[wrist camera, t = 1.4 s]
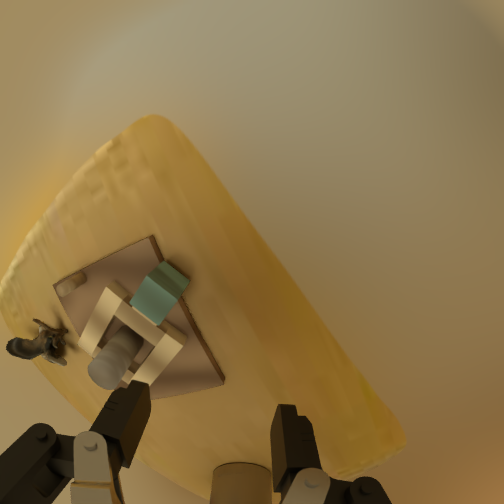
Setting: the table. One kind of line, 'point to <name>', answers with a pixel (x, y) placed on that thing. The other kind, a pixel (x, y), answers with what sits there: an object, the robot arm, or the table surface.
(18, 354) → the brown squirrel figurine
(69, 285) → the dowel pin
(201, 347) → the post board
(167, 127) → the table surface
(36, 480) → the robot arm
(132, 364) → the square frame with handle
